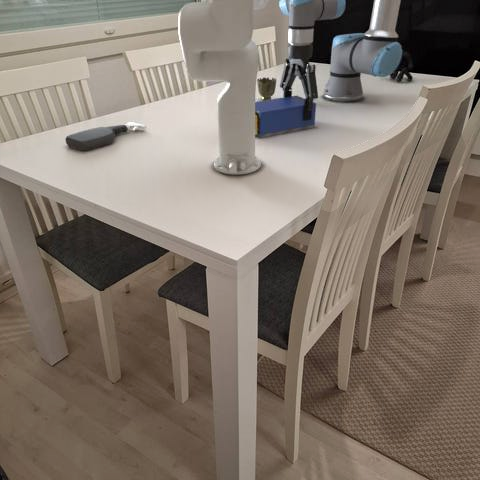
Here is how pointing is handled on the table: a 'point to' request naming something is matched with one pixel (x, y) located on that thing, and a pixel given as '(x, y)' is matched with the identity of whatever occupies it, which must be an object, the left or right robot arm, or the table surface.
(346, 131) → the table surface
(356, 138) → the table surface
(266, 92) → the cup
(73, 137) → the spray bottle
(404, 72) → the squiggle
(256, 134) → the drawer
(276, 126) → the blue box
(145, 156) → the table surface
